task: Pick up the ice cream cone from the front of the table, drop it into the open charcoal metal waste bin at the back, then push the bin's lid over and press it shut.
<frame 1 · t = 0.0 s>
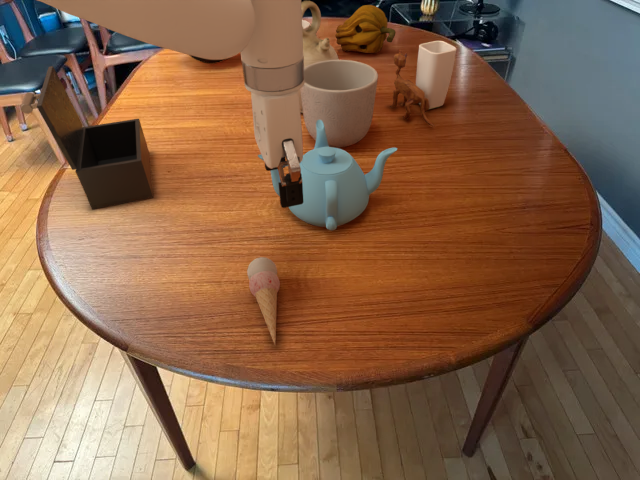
hand: (283, 185, 69), 16 cm above the table, tool pointing down, fingers open, 9 cm apart
fruit: (366, 51, 150), on the table
decorative sphere: (214, 61, 147), on the table
cat figurine: (411, 116, 117), on the table
teapot: (328, 202, 91), on the table
bin: (123, 179, 98), on the table
mug: (292, 62, 145), on the table
ice cream cone: (271, 306, 72), on the table
bin lid: (49, 119, 86), point 15 cm above the table, hinge at 95.0°
jug: (310, 104, 123), on the table
planter: (337, 138, 110), on the table
cup: (429, 105, 121), on the table
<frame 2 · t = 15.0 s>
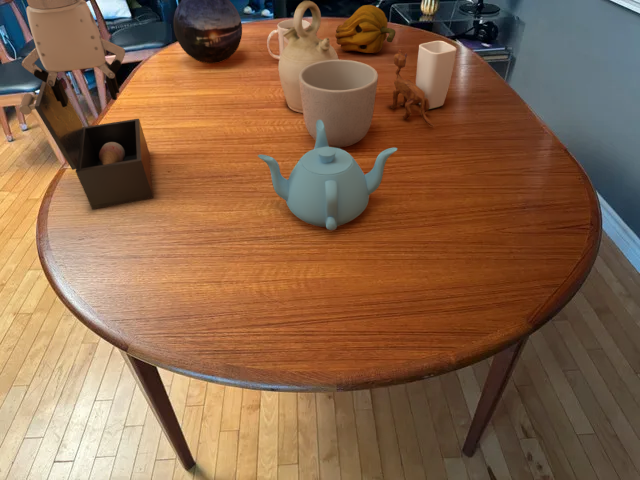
hand: (90, 100, 86), 18 cm above the table, tool pointing down, fingers open, 8 cm apart
ice cream cone: (115, 169, 95), point 3 cm above the table, touching bin
bin lid: (48, 120, 86), point 15 cm above the table, hinge at 96.6°, touching gripper
everything else where it was.
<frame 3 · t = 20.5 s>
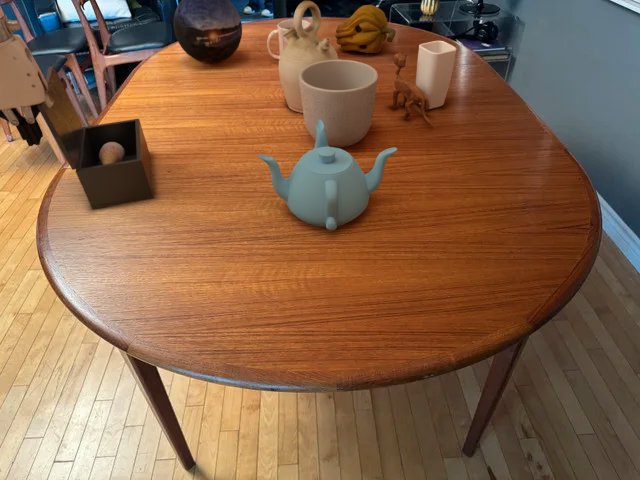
hand: (35, 141, 81), 15 cm above the table, tool pointing down, fingers closed
bin lid: (49, 119, 86), point 15 cm above the table, hinge at 94.6°, touching gripper
everything else where it was.
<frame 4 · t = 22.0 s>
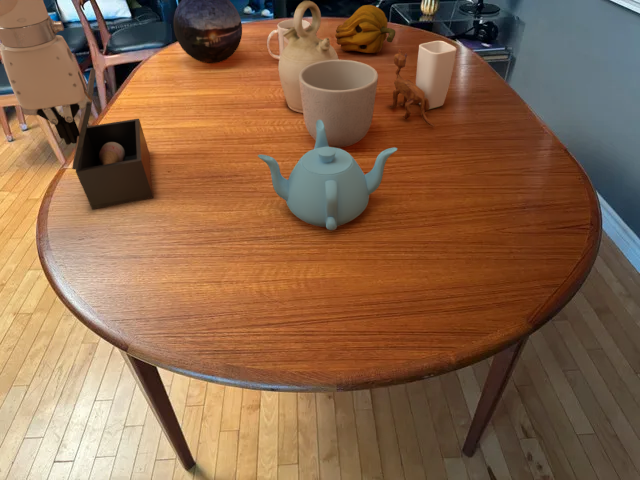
hand: (72, 140, 83), 14 cm above the table, tool pointing down, fingers closed
bin lid: (70, 113, 87), point 16 cm above the table, hinge at 61.0°, touching gripper
everything else where it was.
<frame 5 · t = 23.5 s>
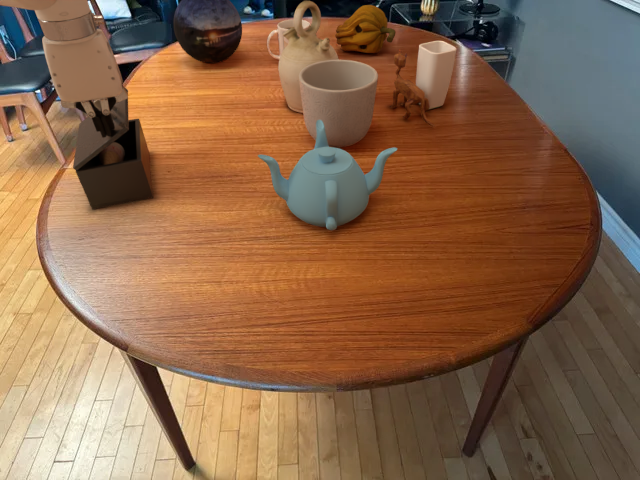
hand: (107, 133, 84), 14 cm above the table, tool pointing down, fingers closed
bin lid: (92, 118, 88), point 14 cm above the table, hinge at 29.7°
everything else where it was.
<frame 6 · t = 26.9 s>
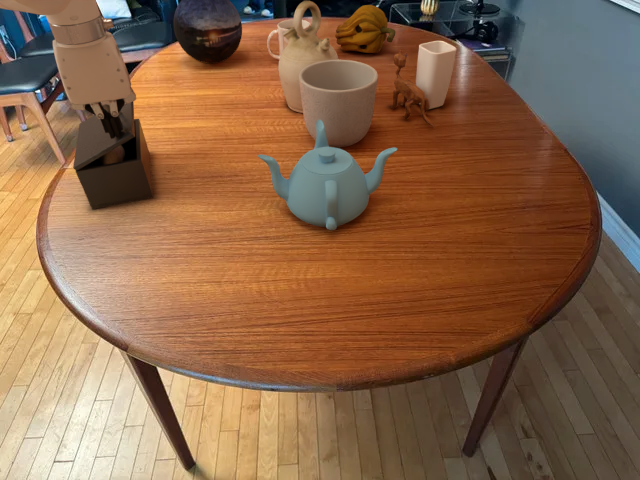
hand: (115, 134, 85), 14 cm above the table, tool pointing down, fingers closed
bin lid: (96, 120, 89), point 14 cm above the table, hinge at 22.4°
everything else where it was.
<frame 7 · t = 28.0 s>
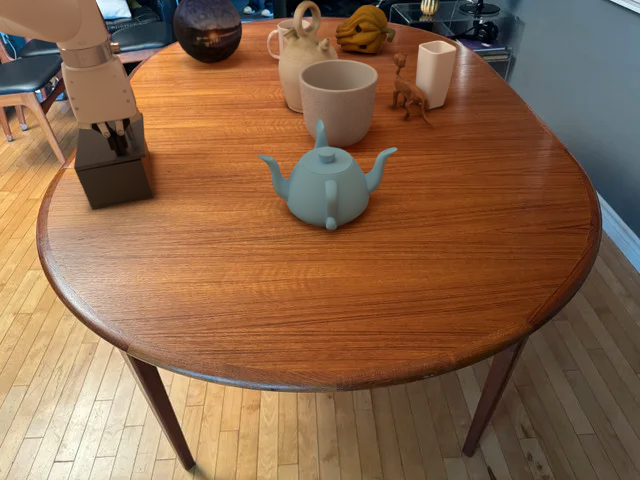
hand: (121, 151, 88), 10 cm above the table, tool pointing down, fingers closed
bin lid: (107, 129, 90), point 12 cm above the table, hinge at 1.8°, touching gripper
everything else where it was.
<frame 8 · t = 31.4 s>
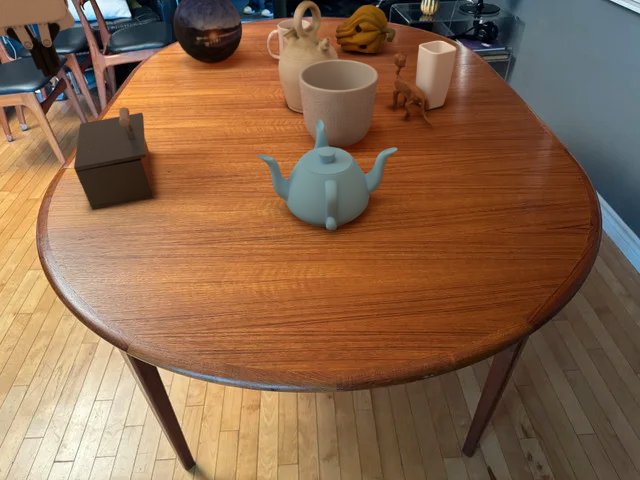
hand: (52, 72, 67), 29 cm above the table, tool pointing down, fingers closed
bin lid: (107, 129, 90), point 12 cm above the table, hinge at 1.7°
everything else where it was.
at the end: ice cream cone inside the target area in the bin (1.3 cm from its centre), point 3.3 cm above the bin's base; bin lid at +2° (first picture: +95°) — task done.
